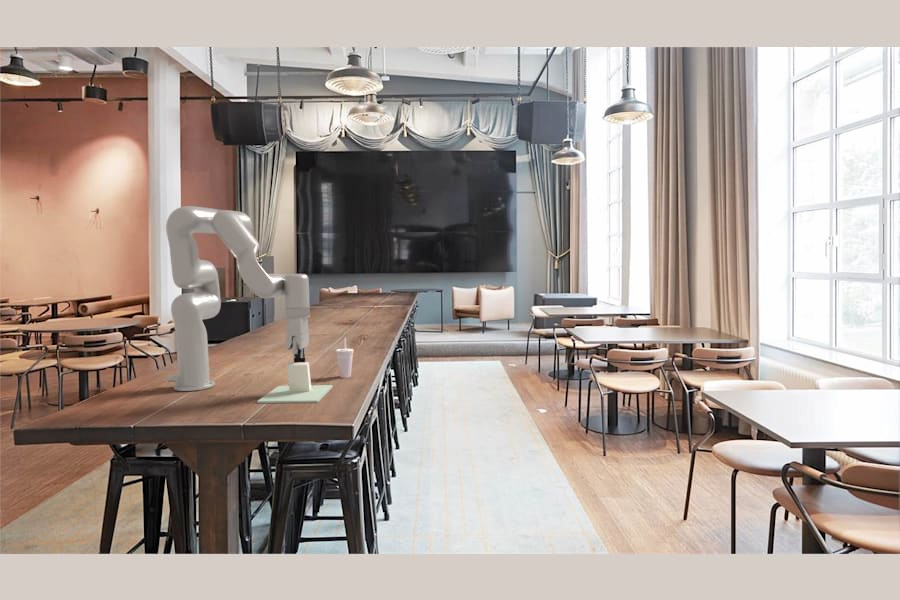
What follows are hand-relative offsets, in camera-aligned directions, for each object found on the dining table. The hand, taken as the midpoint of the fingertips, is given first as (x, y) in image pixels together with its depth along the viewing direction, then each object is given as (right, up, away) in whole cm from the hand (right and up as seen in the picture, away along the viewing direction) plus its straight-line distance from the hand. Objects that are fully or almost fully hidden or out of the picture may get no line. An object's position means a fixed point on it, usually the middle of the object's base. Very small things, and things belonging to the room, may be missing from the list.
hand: (299, 370), depth 186 cm
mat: (0, -7, -4) cm, 8 cm away
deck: (0, -6, -1) cm, 6 cm away
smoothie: (+11, -5, +22) cm, 25 cm away
